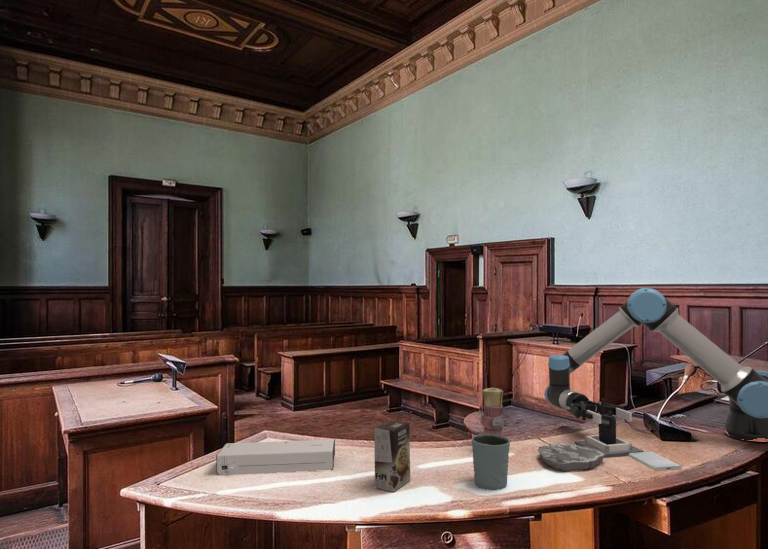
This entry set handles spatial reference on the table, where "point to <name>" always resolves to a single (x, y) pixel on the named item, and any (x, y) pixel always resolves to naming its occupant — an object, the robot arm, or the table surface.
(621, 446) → the charging cradle
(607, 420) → the two-way radio
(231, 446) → the laminator
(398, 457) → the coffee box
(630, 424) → the table surface
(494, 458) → the grey cup
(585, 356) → the robot arm
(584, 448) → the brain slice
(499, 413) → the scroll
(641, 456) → the hard drive
